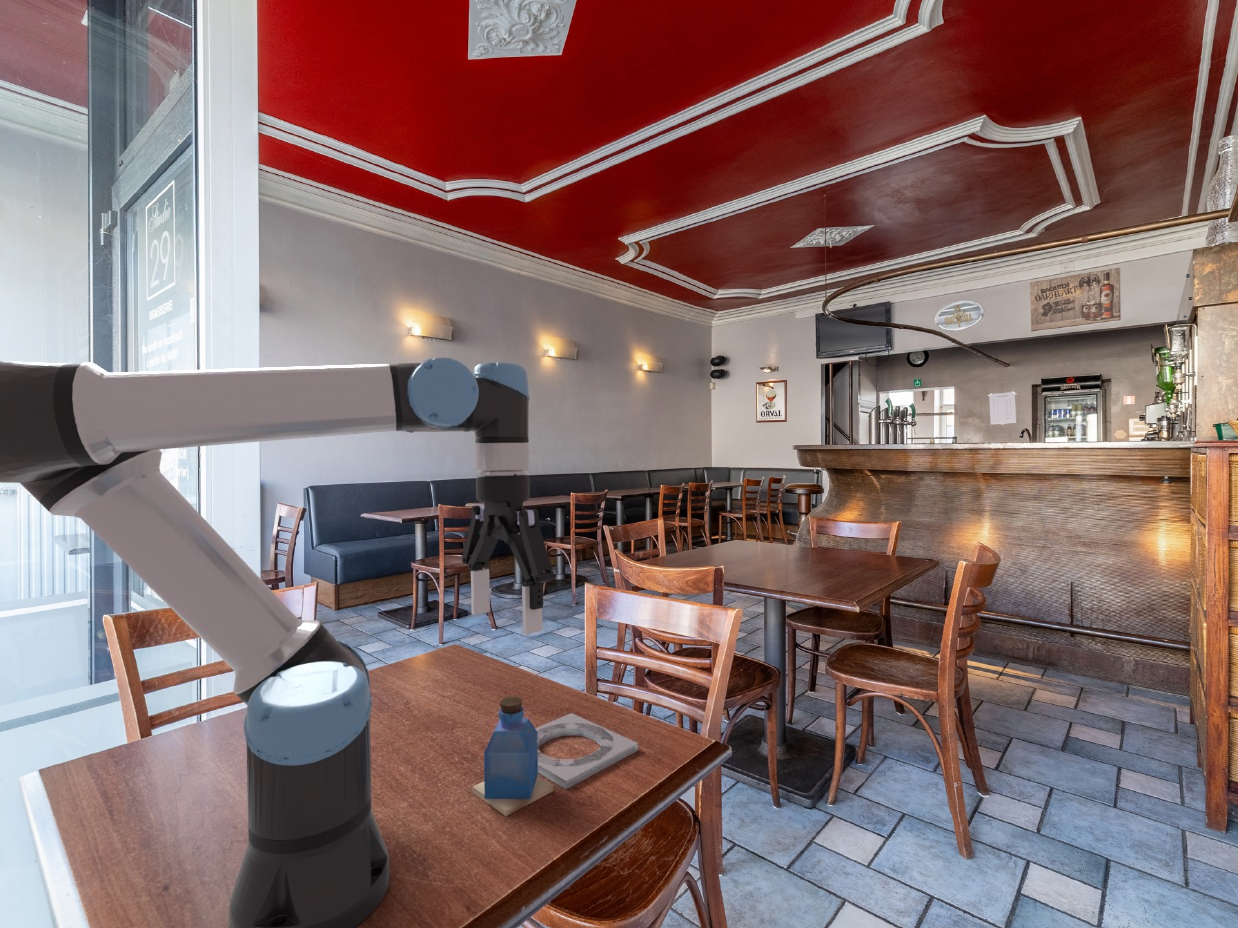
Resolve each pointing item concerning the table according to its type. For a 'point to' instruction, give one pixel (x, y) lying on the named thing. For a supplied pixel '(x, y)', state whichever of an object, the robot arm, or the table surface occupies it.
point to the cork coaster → (514, 804)
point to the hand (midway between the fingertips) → (505, 622)
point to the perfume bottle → (511, 754)
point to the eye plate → (584, 767)
